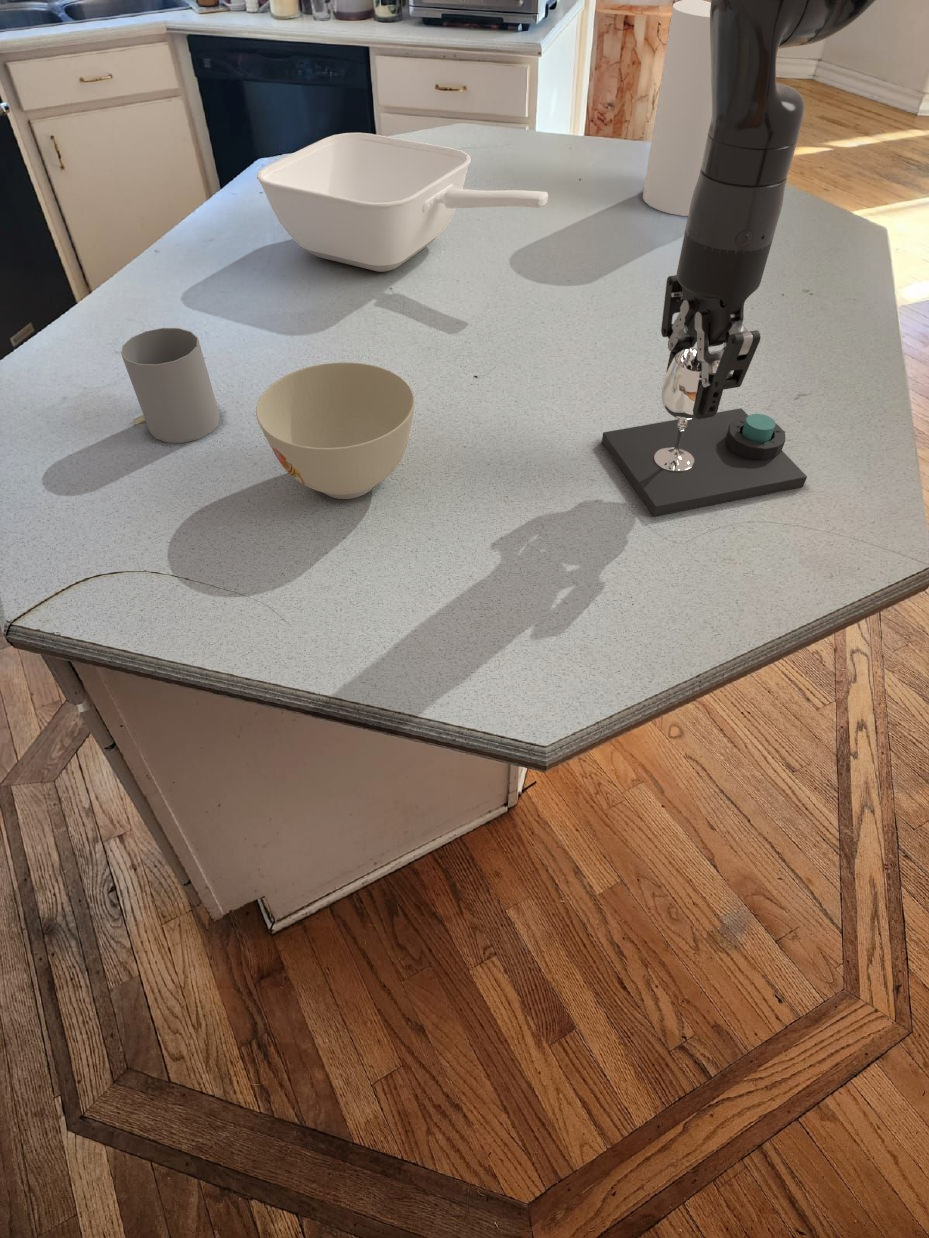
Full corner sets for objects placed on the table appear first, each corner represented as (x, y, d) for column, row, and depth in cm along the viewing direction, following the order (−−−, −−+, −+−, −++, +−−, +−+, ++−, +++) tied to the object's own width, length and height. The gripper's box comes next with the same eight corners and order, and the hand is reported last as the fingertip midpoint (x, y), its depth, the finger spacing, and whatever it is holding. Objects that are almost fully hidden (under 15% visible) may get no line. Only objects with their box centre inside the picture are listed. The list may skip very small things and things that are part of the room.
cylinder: (678, 223, 133) (717, 23, 112) (624, 191, 143) (651, 2, 123) (757, 207, 138) (808, 12, 117) (699, 177, 148) (737, -6, 127)
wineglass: (647, 472, 83) (669, 372, 74) (647, 442, 86) (668, 343, 78) (701, 477, 82) (729, 377, 73) (699, 447, 86) (725, 348, 77)
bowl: (267, 452, 88) (248, 374, 80) (401, 430, 91) (395, 352, 83) (284, 541, 77) (264, 461, 70) (435, 513, 80) (431, 433, 73)
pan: (352, 209, 138) (343, 124, 128) (573, 257, 124) (582, 166, 114) (258, 265, 122) (239, 173, 112) (499, 327, 108) (503, 228, 98)
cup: (231, 427, 91) (210, 349, 84) (166, 451, 88) (138, 373, 81) (202, 396, 96) (179, 320, 88) (139, 419, 93) (110, 342, 85)
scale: (742, 417, 92) (749, 395, 90) (807, 486, 83) (816, 463, 81) (601, 442, 89) (604, 420, 87) (653, 516, 80) (658, 494, 78)
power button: (761, 425, 87) (765, 411, 85) (776, 440, 84) (781, 427, 83) (736, 429, 86) (740, 416, 85) (751, 445, 84) (755, 431, 83)
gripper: (814, 257, 62) (757, 432, 75) (727, 196, 72) (689, 361, 84) (732, 268, 61) (688, 444, 73) (654, 205, 70) (626, 371, 83)
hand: (688, 399), depth 79 cm, fingers closed on wineglass, 5 cm apart
